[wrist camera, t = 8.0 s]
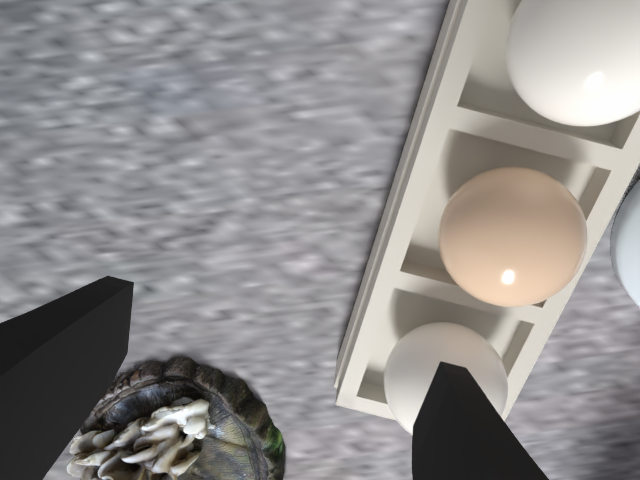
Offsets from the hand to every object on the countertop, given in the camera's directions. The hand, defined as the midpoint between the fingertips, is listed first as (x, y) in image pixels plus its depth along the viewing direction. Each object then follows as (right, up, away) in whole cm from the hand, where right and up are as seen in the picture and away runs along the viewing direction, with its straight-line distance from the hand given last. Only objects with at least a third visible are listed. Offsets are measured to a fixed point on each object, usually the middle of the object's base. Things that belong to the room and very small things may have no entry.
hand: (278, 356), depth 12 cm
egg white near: (+8, +9, +4) cm, 13 cm away
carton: (+7, +4, +8) cm, 12 cm away
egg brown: (+7, +4, +6) cm, 10 cm away
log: (-6, -8, +16) cm, 19 cm away
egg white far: (+6, -2, +9) cm, 11 cm away
